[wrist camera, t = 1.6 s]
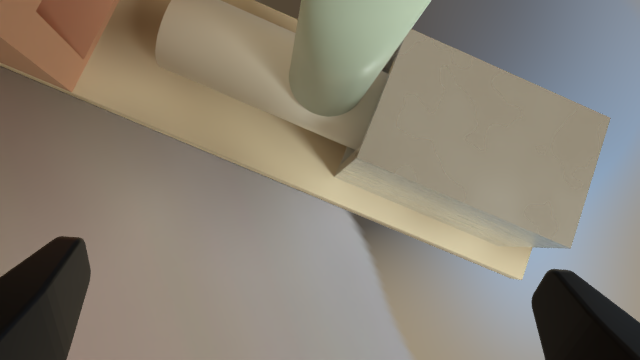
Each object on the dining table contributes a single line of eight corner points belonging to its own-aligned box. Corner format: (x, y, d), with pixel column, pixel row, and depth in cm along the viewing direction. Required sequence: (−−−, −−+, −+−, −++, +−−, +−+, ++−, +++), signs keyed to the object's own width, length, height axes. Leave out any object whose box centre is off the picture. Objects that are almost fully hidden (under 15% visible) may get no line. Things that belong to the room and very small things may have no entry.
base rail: (510, 278, 22) (521, 279, 21) (-19, 58, 20) (-33, 48, 19) (554, 142, 23) (567, 138, 22) (56, -77, 22) (46, -92, 21)
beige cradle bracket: (494, 218, 20) (792, 191, 9) (166, 78, 19) (28, -153, 8) (517, 150, 21) (827, 43, 9) (198, 11, 20) (113, -296, 8)
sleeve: (498, 246, 21) (570, 248, 16) (334, 177, 21) (357, 157, 16) (532, 145, 22) (610, 117, 17) (374, 76, 21) (408, 27, 17)
